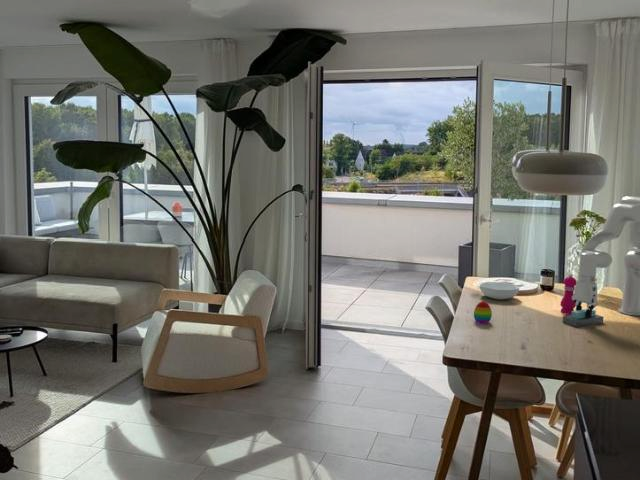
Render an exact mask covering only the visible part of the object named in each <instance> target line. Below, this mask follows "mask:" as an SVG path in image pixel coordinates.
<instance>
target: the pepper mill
mask: <svg viewBox="0 0 640 480" xmlns="http://www.w3.org/2000/svg"><path fill="white" fill-rule="evenodd" d="M576 282H577V280H576V278H575V277H573V274H572V273H569V274H568V276H567V277H565V278H564V279H563V284H564V286H563V290H564V295H563V297H562V299H561V301H560V304H559V305H560V306H561V309H560V313H561V314H564V315H571V314H572V311H575V309H576V306H575V303H574V301H573V299H572V296H573V295H574V292H575V286H576Z"/></svg>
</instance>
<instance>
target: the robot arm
mask: <svg viewBox="0 0 640 480" xmlns="http://www.w3.org/2000/svg"><path fill="white" fill-rule="evenodd" d="M611 207H612V208H610V211H609V213H608V215H607V218H606V220H605V222H604V224H603V227H602V228H601V230H599V231H597V232H596V233H594V234H593V235H592V236H591V237H590V238H588V240H587V241H586V242H585V244H584V246H583V247H582V249H581V252H580V254H579V264H578V275H577V280H576V285H575V286H574V287H575V290H574V292H573V296H572V299H573V301H574V303H575V306H576V307H575V311H576V310H583V306H582V304H584V303H585V304H586V309H587V310H586V318H591V315H592V310H594V309H595V308H596V307H597V306H599V302H598V286H597V285H598V284H597V278H596V274H597V268H598V269H600V268H601V269H605V268H608V267H609V266H611V265H612V262H613V258H612V255H611V254H610V253H609V252H605V251H599V250H596V248H597V247H598V246H600V245H601V244H603V243H606V242H609V241H613V240H617V239H618V238H619V237H620V236H621V234H622V232H623V230H624V227H625V225H626V223H629V233H628V245H629V246H630V247H631V248H633V249H637V250H630V251H628V252H627V253H626V254H625V255H624V258H623V263H624V264H623V265H624V278H623V279H624V280H623V288H622V289H623V291H622V299H621V300H622V301H621V307H619V308H618V309H617V311H618V312H619V313H621V314H624V315H629V316H639V317H640V196H631V195H630V196H629V195H628V196H627V195H626V196H624V197H622V198H621V200H620V203H615V204H614V205H613V206H611Z"/></svg>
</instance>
